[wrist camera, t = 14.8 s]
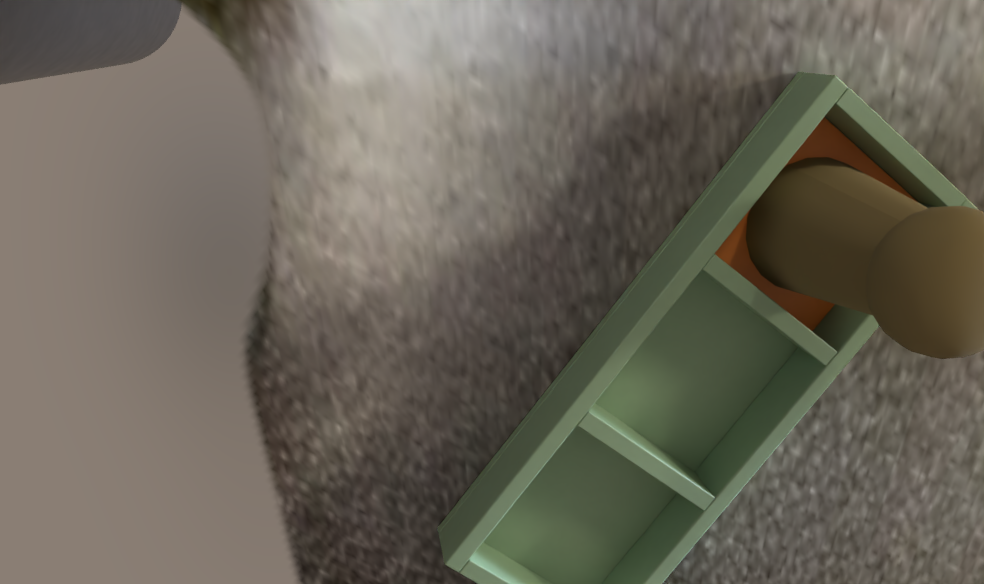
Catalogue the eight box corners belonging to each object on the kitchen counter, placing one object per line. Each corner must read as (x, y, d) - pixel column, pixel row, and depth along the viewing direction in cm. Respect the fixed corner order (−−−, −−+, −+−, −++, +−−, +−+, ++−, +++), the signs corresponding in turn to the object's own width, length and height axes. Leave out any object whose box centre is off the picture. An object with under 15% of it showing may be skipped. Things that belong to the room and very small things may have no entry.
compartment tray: (436, 527, 41) (443, 565, 38) (798, 71, 38) (835, 74, 35) (584, 615, 44) (601, 656, 41) (934, 196, 40) (979, 208, 37)
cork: (876, 277, 40) (1063, 364, 30) (750, 303, 40) (897, 401, 29) (873, 145, 38) (1072, 188, 28) (741, 170, 38) (894, 223, 27)
